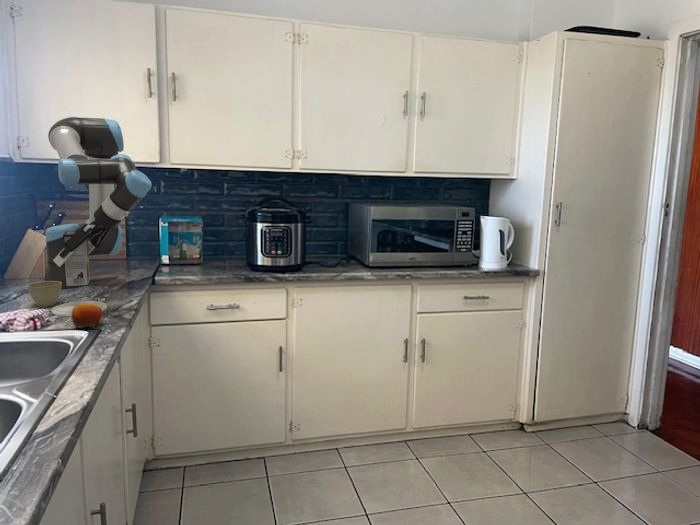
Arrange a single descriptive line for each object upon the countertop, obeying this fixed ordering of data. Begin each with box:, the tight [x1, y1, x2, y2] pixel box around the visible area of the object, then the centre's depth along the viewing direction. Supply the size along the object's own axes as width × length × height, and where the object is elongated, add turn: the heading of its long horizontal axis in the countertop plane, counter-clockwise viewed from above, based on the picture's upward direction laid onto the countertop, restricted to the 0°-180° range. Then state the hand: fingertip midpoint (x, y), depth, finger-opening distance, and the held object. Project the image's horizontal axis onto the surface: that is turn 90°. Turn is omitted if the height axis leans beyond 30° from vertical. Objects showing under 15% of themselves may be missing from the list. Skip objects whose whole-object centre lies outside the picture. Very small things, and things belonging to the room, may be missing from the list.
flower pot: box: [27, 280, 62, 308], centre depth 181 cm, size 10×10×7 cm
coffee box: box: [63, 231, 91, 286], centre depth 172 cm, size 9×6×16 cm
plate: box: [51, 300, 108, 318], centre depth 175 cm, size 16×16×1 cm
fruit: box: [71, 303, 103, 329], centre depth 157 cm, size 8×8×8 cm
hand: (68, 260), depth 173 cm, fingers closed on coffee box, 10 cm apart
